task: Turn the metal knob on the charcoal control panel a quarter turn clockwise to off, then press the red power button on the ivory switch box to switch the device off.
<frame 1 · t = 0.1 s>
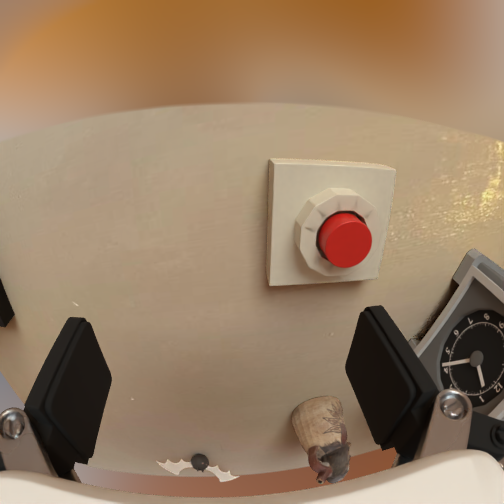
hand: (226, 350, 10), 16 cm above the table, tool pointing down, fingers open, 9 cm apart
alarm clock: (456, 317, 33), on the table
power button: (345, 240, 21), point 4 cm above the table, slide at 0.1 cm
switch box: (325, 218, 25), on the table
figurine: (315, 409, 38), on the table
bat toy: (200, 454, 42), on the table
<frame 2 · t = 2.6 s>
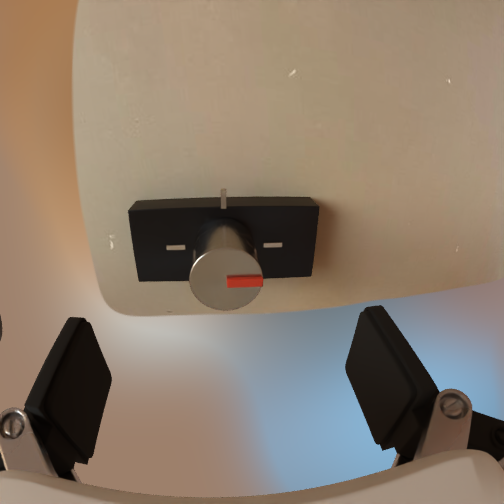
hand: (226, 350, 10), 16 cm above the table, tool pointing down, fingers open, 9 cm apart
knob: (225, 262, 20), point 5 cm above the table, hinge at 0.0°
panel: (223, 232, 25), on the table
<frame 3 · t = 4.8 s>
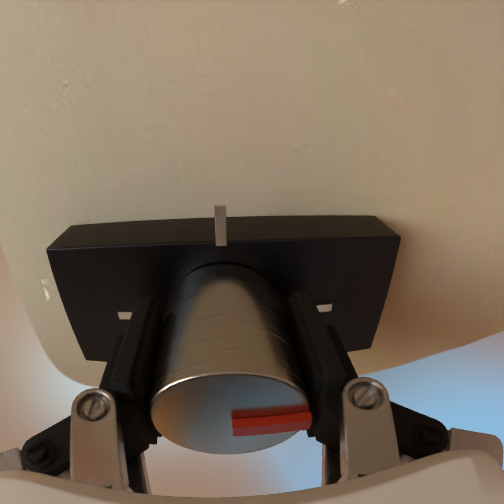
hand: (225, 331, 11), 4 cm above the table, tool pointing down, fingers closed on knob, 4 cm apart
knob: (226, 362, 9), point 5 cm above the table, hinge at 0.0°, touching gripper
panel: (223, 278, 14), on the table
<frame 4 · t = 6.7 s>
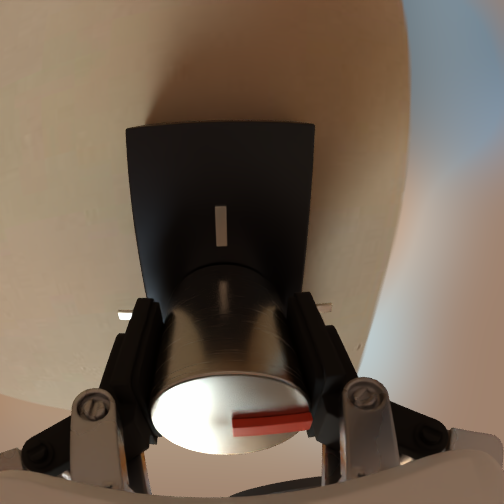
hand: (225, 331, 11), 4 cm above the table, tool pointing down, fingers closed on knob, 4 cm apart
knob: (226, 363, 9), point 5 cm above the table, hinge at -90.3°, touching gripper
panel: (223, 279, 14), on the table
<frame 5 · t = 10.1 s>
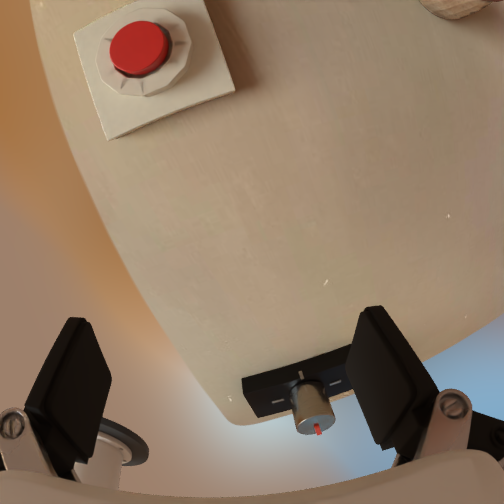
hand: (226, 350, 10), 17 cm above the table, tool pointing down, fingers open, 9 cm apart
power button: (139, 48, 15), point 4 cm above the table, slide at 0.1 cm
switch box: (153, 59, 19), on the table
knob: (311, 409, 30), point 5 cm above the table, hinge at -89.5°
panel: (302, 376, 35), on the table
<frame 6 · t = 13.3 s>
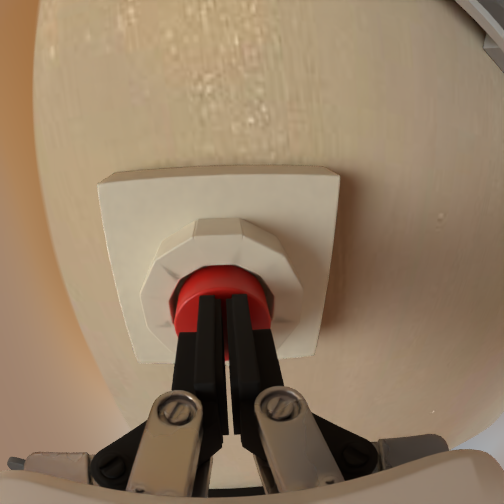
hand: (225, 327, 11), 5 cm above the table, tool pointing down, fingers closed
power button: (222, 314, 12), point 4 cm above the table, slide at -0.2 cm, touching gripper
switch box: (220, 263, 15), on the table
panel: (259, 492, 32), on the table
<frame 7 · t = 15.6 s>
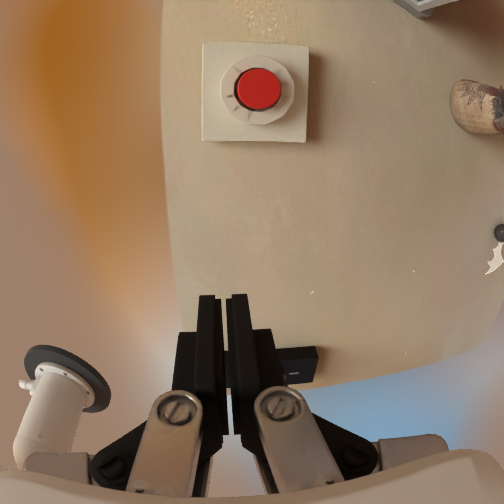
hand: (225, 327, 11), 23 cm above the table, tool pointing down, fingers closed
power button: (258, 89, 23), point 4 cm above the table, slide at 0.1 cm
switch box: (253, 91, 27), on the table
figurine: (466, 105, 28), on the table
bat toy: (495, 228, 37), on the table
knob: (272, 388, 40), point 5 cm above the table, hinge at -89.5°
panel: (268, 362, 44), on the table
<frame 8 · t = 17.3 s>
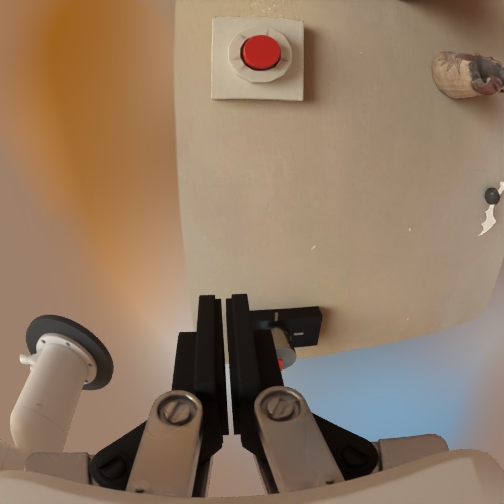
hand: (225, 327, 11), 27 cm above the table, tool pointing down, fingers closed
power button: (261, 52, 25), point 4 cm above the table, slide at 0.1 cm
switch box: (256, 59, 29), on the table
figurine: (447, 75, 31), on the table
bat toy: (486, 193, 39), on the table
knob: (277, 347, 41), point 5 cm above the table, hinge at -89.5°
panel: (272, 324, 46), on the table
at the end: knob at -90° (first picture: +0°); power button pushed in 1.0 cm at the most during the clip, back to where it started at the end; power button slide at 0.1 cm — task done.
